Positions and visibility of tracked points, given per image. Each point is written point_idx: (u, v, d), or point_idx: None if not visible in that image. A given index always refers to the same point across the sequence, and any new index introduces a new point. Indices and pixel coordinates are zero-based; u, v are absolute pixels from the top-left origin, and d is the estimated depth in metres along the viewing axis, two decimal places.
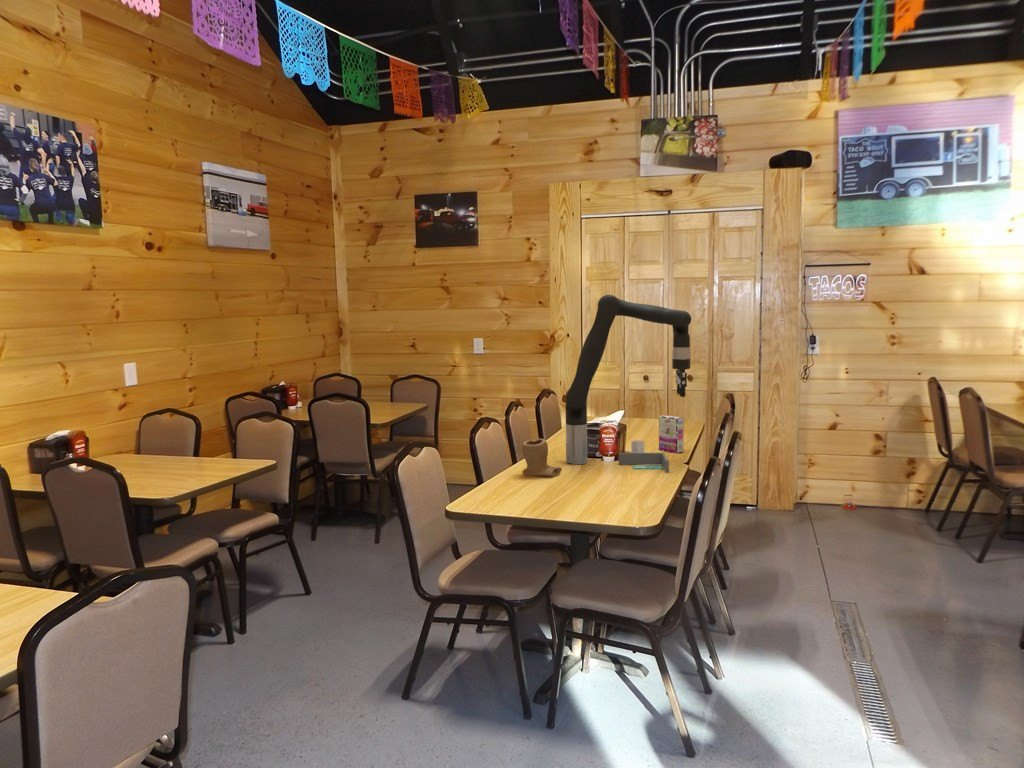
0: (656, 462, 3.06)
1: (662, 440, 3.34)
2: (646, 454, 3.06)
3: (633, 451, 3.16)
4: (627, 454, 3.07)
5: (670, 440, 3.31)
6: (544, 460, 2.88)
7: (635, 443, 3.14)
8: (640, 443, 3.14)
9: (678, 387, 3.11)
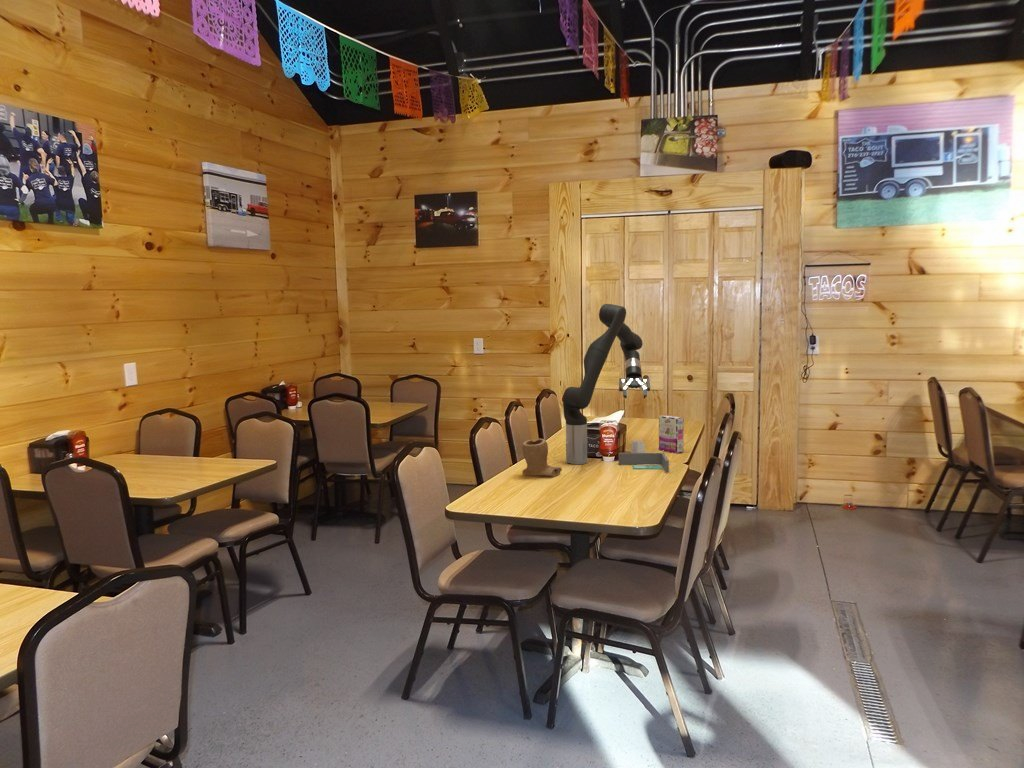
0: (656, 462, 3.06)
1: (662, 440, 3.34)
2: (646, 454, 3.06)
3: (633, 451, 3.16)
4: (627, 454, 3.07)
5: (670, 440, 3.31)
6: (544, 460, 2.88)
7: (635, 443, 3.14)
8: (640, 443, 3.14)
9: None
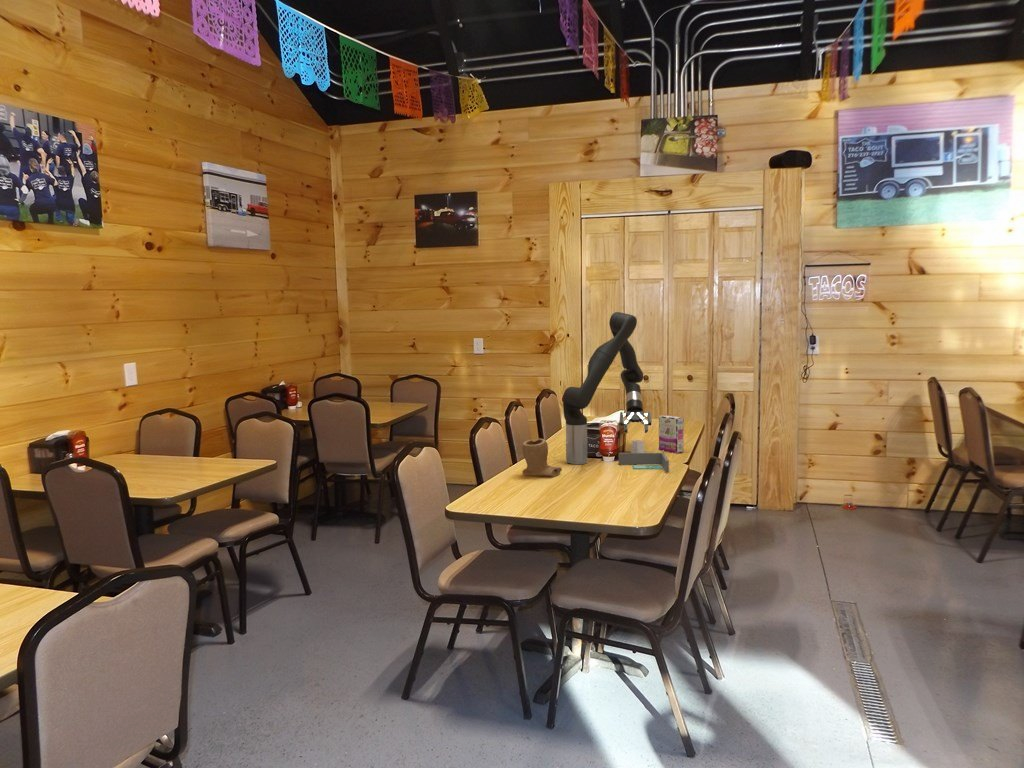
0: (656, 462, 3.06)
1: (662, 440, 3.34)
2: (646, 454, 3.06)
3: (633, 451, 3.16)
4: (627, 454, 3.07)
5: (670, 440, 3.31)
6: (544, 460, 2.88)
7: (635, 443, 3.14)
8: (640, 443, 3.14)
9: None
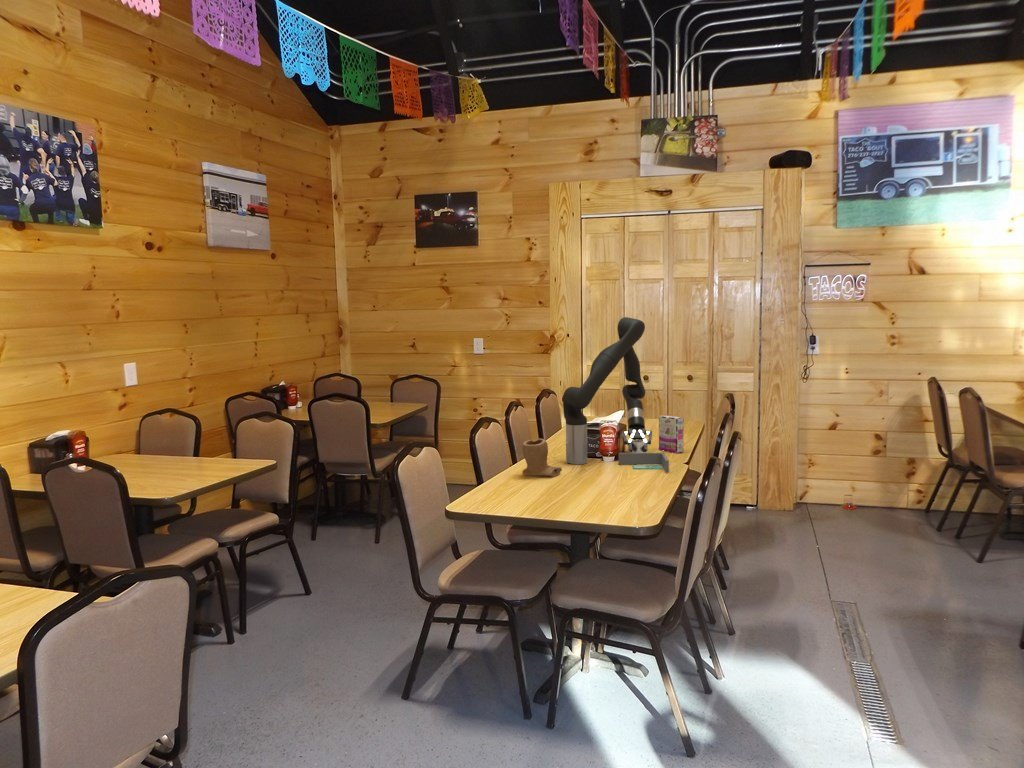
0: (656, 462, 3.06)
1: (662, 440, 3.34)
2: (646, 454, 3.06)
3: (633, 451, 3.16)
4: (627, 454, 3.07)
5: (670, 440, 3.31)
6: (544, 460, 2.88)
7: (635, 443, 3.14)
8: (640, 443, 3.14)
9: (631, 445, 3.16)
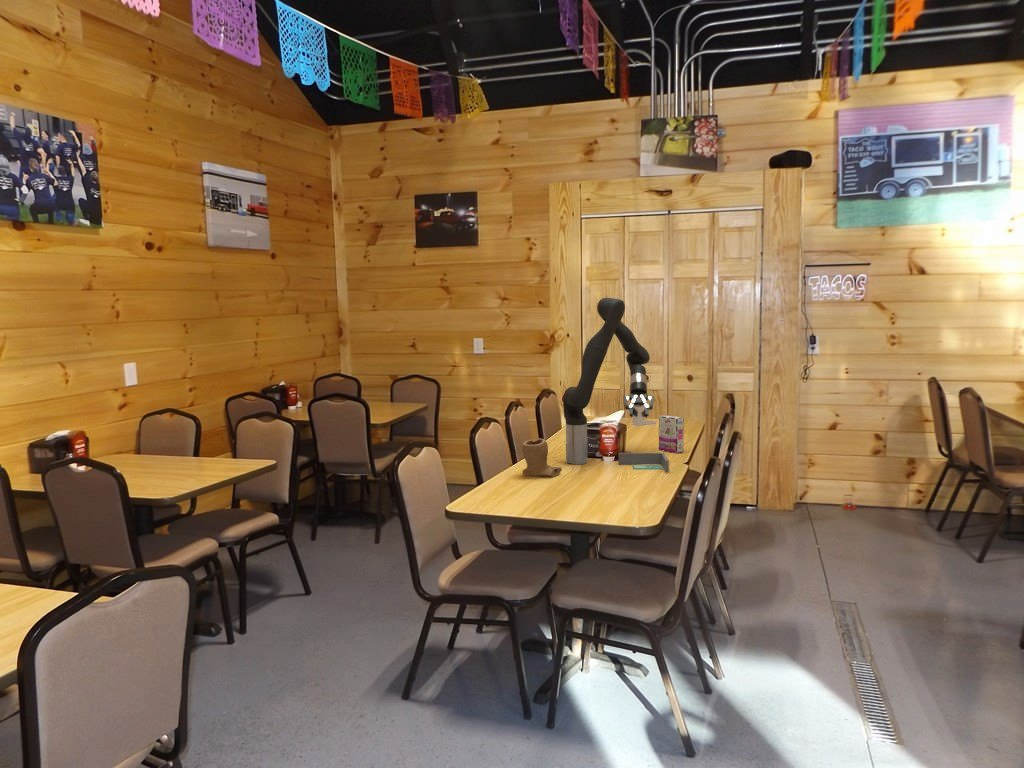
0: (656, 462, 3.06)
1: (662, 440, 3.34)
2: (646, 454, 3.06)
3: (634, 416, 3.13)
4: (627, 454, 3.07)
5: (670, 440, 3.31)
6: (544, 460, 2.88)
7: (636, 408, 3.11)
8: (641, 408, 3.11)
9: (632, 410, 3.13)
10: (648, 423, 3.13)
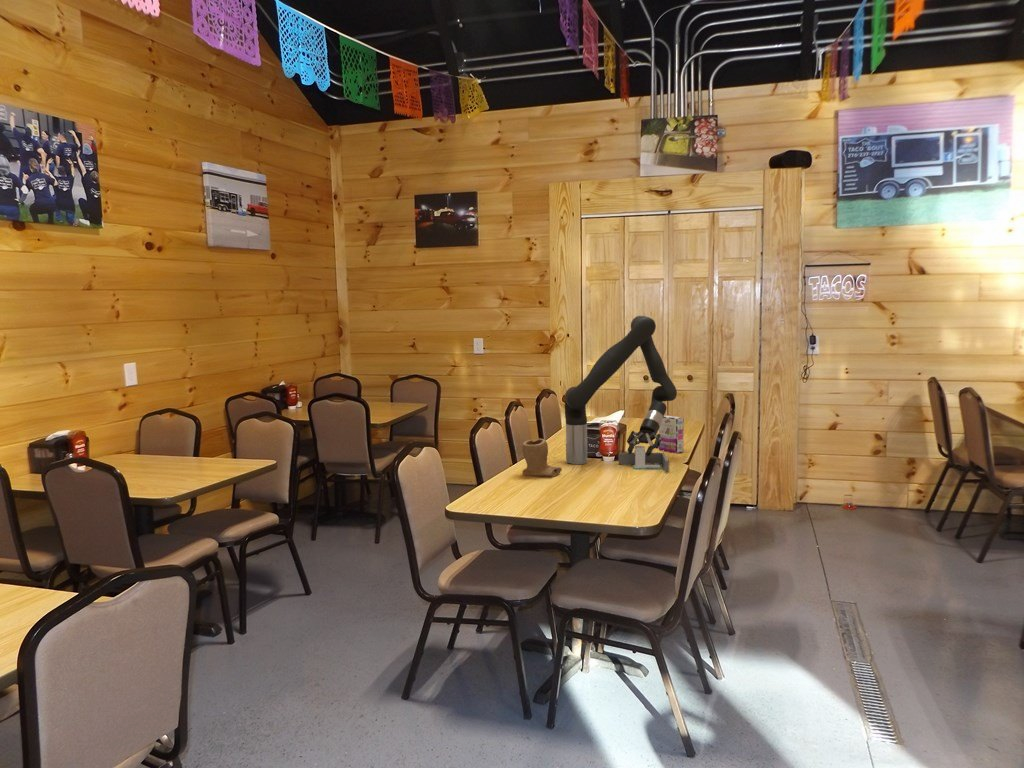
0: (656, 462, 3.06)
1: (662, 440, 3.34)
2: None
3: None
4: (627, 454, 3.07)
5: (670, 440, 3.31)
6: (544, 460, 2.88)
7: (635, 448, 3.00)
8: (639, 449, 2.99)
9: (632, 446, 3.04)
10: (649, 466, 2.99)
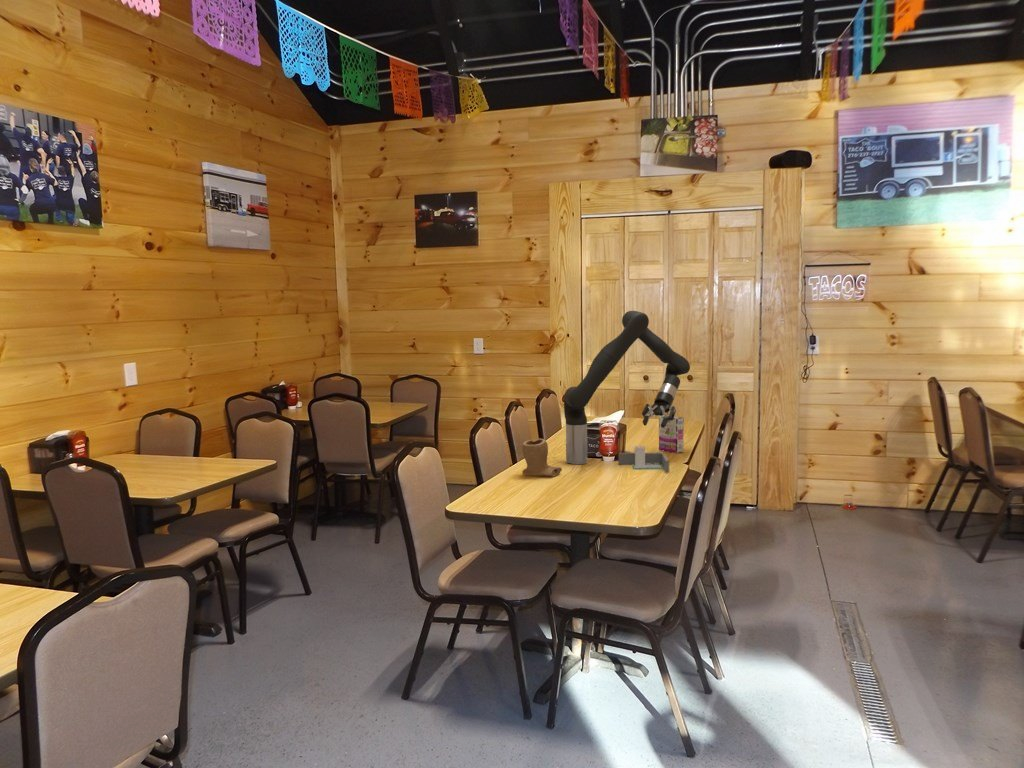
0: (656, 462, 3.06)
1: (662, 440, 3.34)
2: (646, 454, 3.06)
3: None
4: (627, 454, 3.07)
5: (670, 440, 3.31)
6: (544, 460, 2.88)
7: (635, 448, 3.00)
8: (639, 449, 2.99)
9: (647, 418, 3.13)
10: (649, 466, 2.99)
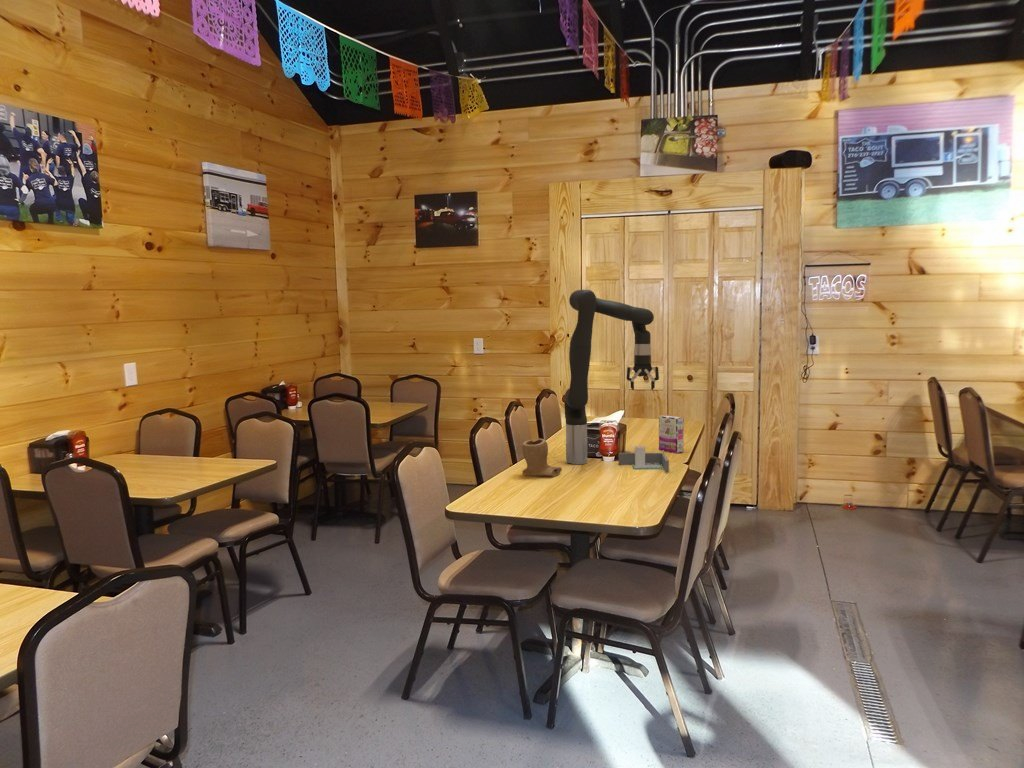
0: (656, 462, 3.06)
1: (662, 440, 3.34)
2: (646, 454, 3.06)
3: None
4: (627, 454, 3.07)
5: (670, 440, 3.31)
6: (544, 460, 2.88)
7: (635, 448, 3.00)
8: (639, 449, 2.99)
9: (633, 383, 3.23)
10: (649, 466, 2.99)
